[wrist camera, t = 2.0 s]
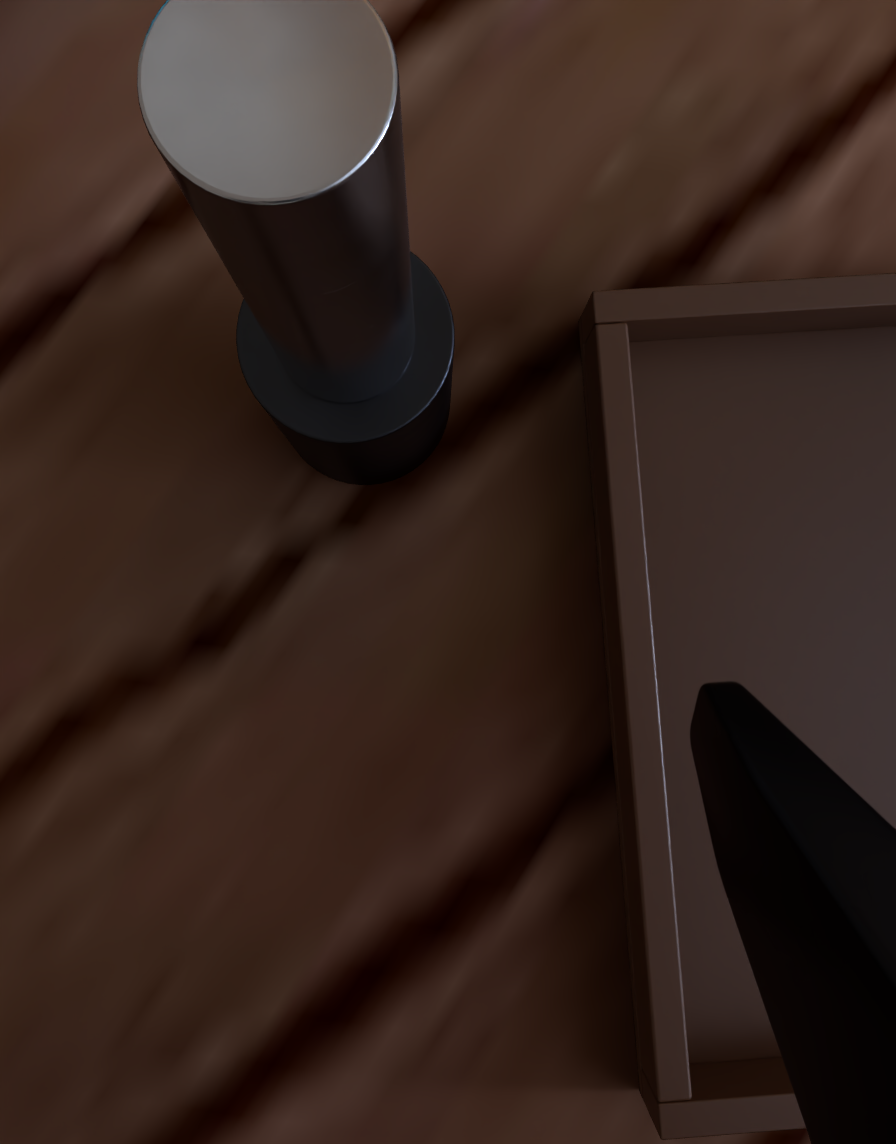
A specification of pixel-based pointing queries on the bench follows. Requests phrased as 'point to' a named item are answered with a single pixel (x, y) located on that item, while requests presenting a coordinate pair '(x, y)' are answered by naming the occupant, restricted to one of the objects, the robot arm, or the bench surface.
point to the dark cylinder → (308, 219)
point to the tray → (735, 620)
